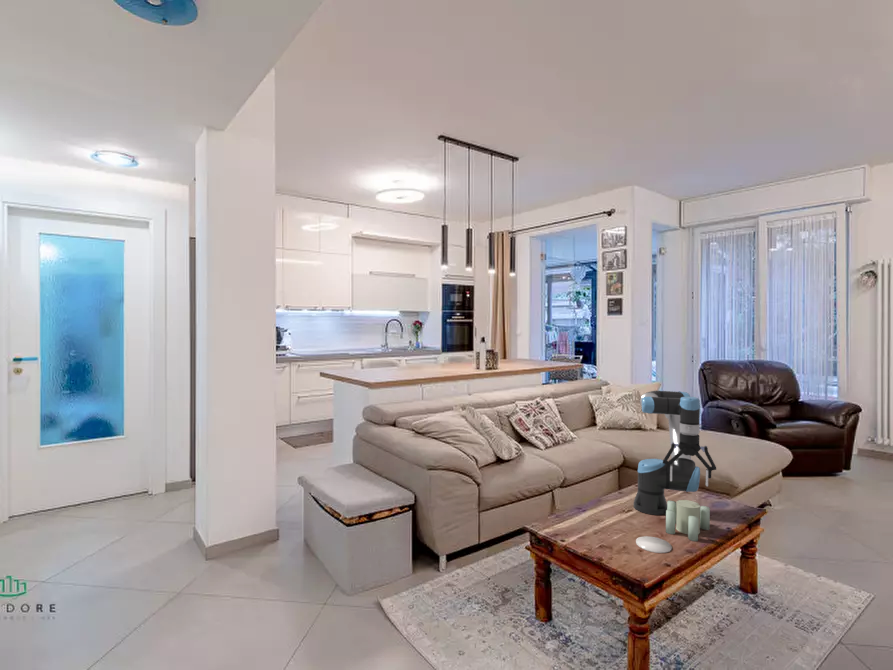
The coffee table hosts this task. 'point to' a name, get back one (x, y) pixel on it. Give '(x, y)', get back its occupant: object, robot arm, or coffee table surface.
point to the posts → (691, 520)
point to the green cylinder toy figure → (686, 514)
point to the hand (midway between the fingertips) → (688, 482)
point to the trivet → (653, 544)
